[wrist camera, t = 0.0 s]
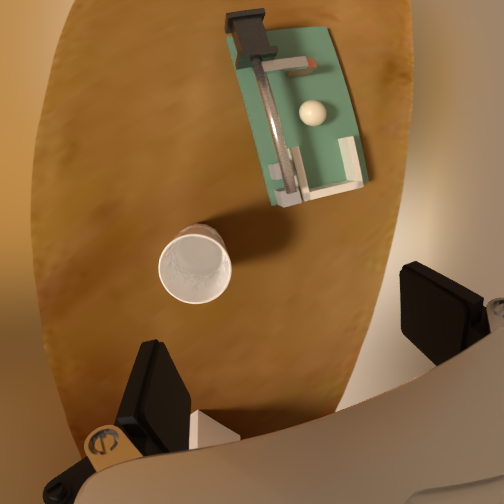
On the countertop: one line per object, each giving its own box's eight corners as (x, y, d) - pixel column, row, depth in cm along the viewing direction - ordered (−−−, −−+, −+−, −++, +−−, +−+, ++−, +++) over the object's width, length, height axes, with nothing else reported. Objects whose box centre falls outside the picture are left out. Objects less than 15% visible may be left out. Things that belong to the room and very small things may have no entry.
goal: (285, 149, 38) (291, 147, 35) (343, 137, 38) (353, 136, 35) (297, 199, 40) (303, 201, 37) (354, 185, 40) (363, 187, 37)
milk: (198, 409, 49) (198, 532, 24) (240, 435, 52) (256, 544, 27) (158, 434, 50) (147, 542, 25) (200, 457, 53) (203, 556, 28)
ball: (293, 105, 36) (300, 99, 33) (317, 101, 36) (326, 95, 33) (299, 130, 37) (307, 126, 34) (323, 125, 37) (333, 122, 34)
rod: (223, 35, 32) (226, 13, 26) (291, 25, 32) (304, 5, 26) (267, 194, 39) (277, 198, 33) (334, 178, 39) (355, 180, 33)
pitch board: (226, 40, 33) (227, 26, 29) (323, 28, 34) (334, 17, 30) (270, 205, 40) (277, 209, 36) (366, 181, 41) (381, 183, 37)
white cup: (238, 237, 41) (245, 257, 32) (209, 283, 42) (208, 315, 33) (188, 208, 39) (180, 220, 30) (161, 257, 41) (146, 282, 31)
